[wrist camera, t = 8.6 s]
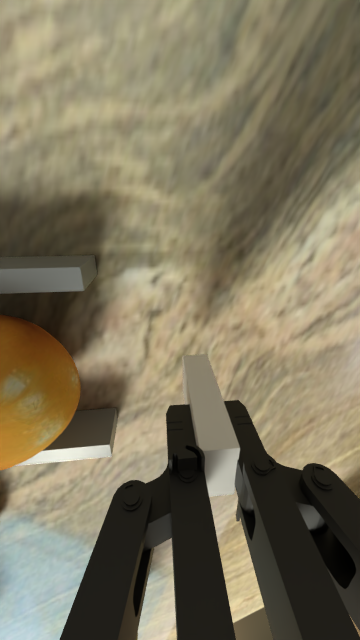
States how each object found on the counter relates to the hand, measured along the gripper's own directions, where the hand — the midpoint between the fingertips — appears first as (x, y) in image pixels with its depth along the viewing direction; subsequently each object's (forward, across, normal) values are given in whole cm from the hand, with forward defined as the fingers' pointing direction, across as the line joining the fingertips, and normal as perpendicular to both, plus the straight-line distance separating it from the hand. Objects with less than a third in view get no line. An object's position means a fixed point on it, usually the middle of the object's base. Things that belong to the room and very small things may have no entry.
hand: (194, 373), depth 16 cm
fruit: (+3, +11, 0) cm, 12 cm away
